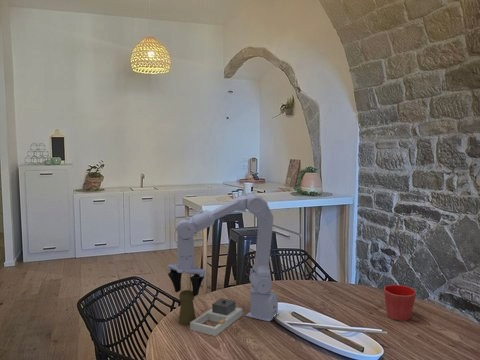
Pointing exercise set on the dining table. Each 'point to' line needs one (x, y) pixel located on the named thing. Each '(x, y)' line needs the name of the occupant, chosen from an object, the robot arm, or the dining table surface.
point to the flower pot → (399, 301)
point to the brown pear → (186, 308)
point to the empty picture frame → (217, 317)
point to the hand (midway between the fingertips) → (186, 293)
